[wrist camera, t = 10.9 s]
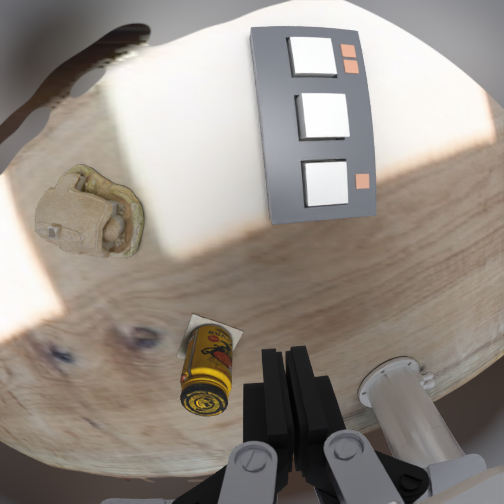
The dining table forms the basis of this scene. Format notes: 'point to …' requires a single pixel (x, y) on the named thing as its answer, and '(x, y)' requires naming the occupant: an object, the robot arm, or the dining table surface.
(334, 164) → the key
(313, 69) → the key
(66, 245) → the ceramic model
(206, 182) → the dining table surface
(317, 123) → the key
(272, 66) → the keypad
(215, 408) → the condiment
